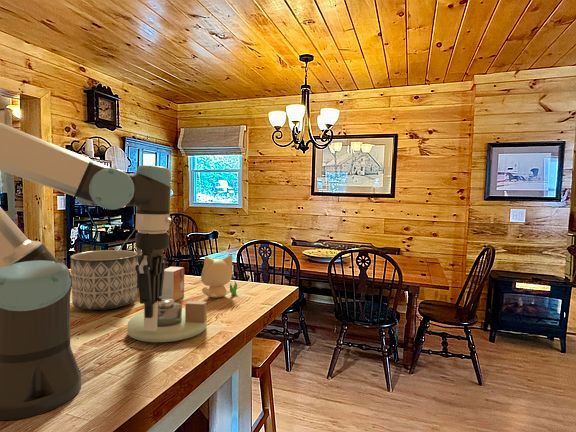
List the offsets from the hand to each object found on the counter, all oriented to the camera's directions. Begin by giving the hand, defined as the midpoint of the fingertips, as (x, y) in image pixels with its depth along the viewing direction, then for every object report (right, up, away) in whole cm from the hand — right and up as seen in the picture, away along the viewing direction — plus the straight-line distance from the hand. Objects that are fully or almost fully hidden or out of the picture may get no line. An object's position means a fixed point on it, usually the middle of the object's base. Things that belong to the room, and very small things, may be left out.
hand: (150, 329), depth 89 cm
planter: (-26, -2, +30) cm, 40 cm away
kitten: (+8, -2, +44) cm, 44 cm away
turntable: (+1, -3, +10) cm, 11 cm away
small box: (-7, -2, +39) cm, 40 cm away
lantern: (-25, 0, +59) cm, 65 cm away
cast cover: (+1, -1, +8) cm, 8 cm away
